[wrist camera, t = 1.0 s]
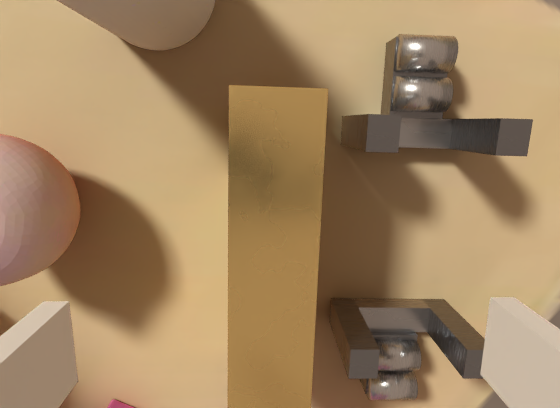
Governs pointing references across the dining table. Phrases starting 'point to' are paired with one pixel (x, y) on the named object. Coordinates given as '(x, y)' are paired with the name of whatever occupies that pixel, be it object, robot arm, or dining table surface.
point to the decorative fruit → (33, 209)
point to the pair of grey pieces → (388, 138)
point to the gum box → (118, 404)
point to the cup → (148, 19)
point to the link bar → (273, 242)
